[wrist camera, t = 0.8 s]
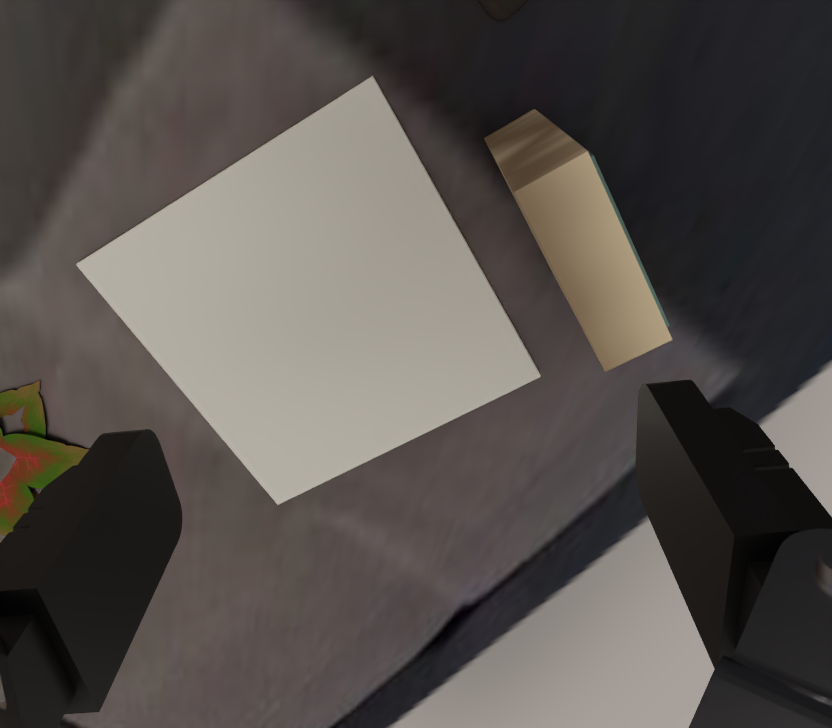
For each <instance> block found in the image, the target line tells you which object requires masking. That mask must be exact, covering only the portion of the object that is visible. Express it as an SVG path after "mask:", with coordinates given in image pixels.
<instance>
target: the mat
mask: <svg viewBox="0 0 832 728" xmlns="http://www.w3.org/2000/svg"><path fill="white" fill-rule="evenodd" d="M76 265H77V267H78V268H79V269H80V270H81V271H82V273H83V274H84V275H85V276H86V277H87V278H88V280H89V281H90V282H91V283H92V284H93V286H94V287H95V288H96V289H97V290H98V292H99V293H100V294H101V295H102V296H103V298H104V299H105V300H106V301H107V302H108V303H109V305H110V306H111V307H112V308H113V309H114V311H115V312H116V313H117V314H118V315H119V317H120V318H121V319H122V320H123V321H124V322H125V324H126V325H127V326H128V327H129V328H130V330H131V331H132V332H133V333H134V334H135V336H136V337H137V338H138V339H139V340H140V342H141V343H142V344H143V345H144V346H145V347H146V349H147V350H148V351H149V352H150V353H151V355H152V356H153V357H154V358H155V359H156V361H157V362H158V363H159V364H160V365H161V367H162V368H163V369H164V370H165V371H166V372H167V374H168V375H169V376H170V377H171V378H172V380H173V381H174V382H175V383H176V384H177V386H178V387H179V388H180V389H181V390H182V392H183V393H184V394H185V395H186V396H187V397H188V399H189V400H190V401H191V402H192V403H193V405H194V406H195V407H196V408H197V409H198V411H199V412H200V413H201V414H202V415H203V417H204V418H205V419H206V420H207V421H208V422H209V424H210V425H211V426H212V427H213V428H214V430H215V431H216V432H217V433H218V434H219V436H220V437H221V438H222V439H223V440H224V442H225V443H226V444H227V445H228V446H229V447H230V449H231V450H232V451H233V452H234V453H235V455H236V456H237V457H238V458H239V459H240V461H241V462H242V463H243V464H244V465H245V467H246V468H247V469H248V470H249V471H250V472H251V474H252V475H253V476H254V477H255V478H256V480H257V481H258V482H259V483H260V484H261V486H262V487H263V488H264V489H265V490H266V491H267V493H268V494H269V495H270V496H271V497H272V499H273V500H274V501H275V502H276V503H277V505H278V504H281V503H283V502H285V501H287V500H289V499H291V498H293V497H295V496H297V495H299V494H301V493H303V492H305V491H307V490H309V489H311V488H313V487H315V486H318V485H320V484H322V483H324V482H326V481H328V480H330V479H332V478H334V477H336V476H338V475H340V474H342V473H344V472H346V471H348V470H350V469H352V468H355V467H357V466H359V465H361V464H363V463H365V462H367V461H369V460H371V459H373V458H375V457H377V456H379V455H381V454H383V453H385V452H387V451H389V450H392V449H394V448H396V447H398V446H400V445H402V444H404V443H406V442H408V441H410V440H412V439H414V438H416V437H418V436H420V435H422V434H424V433H426V432H429V431H431V430H433V429H435V428H437V427H439V426H441V425H443V424H445V423H447V422H449V421H451V420H453V419H455V418H457V417H459V416H461V415H463V414H465V413H468V412H470V411H472V410H474V409H476V408H478V407H480V406H482V405H484V404H486V403H488V402H490V401H492V400H494V399H496V398H498V397H500V396H502V395H505V394H507V393H509V392H511V391H513V390H515V389H517V388H519V387H521V386H523V385H525V384H527V383H529V382H531V381H533V380H535V379H537V378H539V377H541V375H540V373H539V371H538V369H537V367H536V365H535V364H534V362H533V360H532V358H531V357H530V355H529V353H528V351H527V349H526V348H525V346H524V344H523V342H522V340H521V339H520V337H519V335H518V333H517V332H516V330H515V328H514V326H513V324H512V323H511V321H510V319H509V317H508V315H507V314H506V312H505V310H504V308H503V307H502V305H501V303H500V301H499V299H498V298H497V296H496V294H495V292H494V290H493V289H492V287H491V285H490V283H489V282H488V280H487V278H486V276H485V274H484V273H483V271H482V269H481V267H480V265H479V264H478V262H477V260H476V258H475V257H474V255H473V253H472V251H471V249H470V248H469V246H468V244H467V242H466V240H465V239H464V237H463V235H462V233H461V232H460V230H459V228H458V226H457V224H456V223H455V221H454V219H453V217H452V215H451V214H450V212H449V210H448V208H447V206H446V205H445V203H444V201H443V199H442V198H441V196H440V194H439V192H438V190H437V189H436V187H435V185H434V183H433V181H432V180H431V178H430V176H429V174H428V173H427V171H426V169H425V167H424V165H423V164H422V162H421V160H420V158H419V156H418V155H417V153H416V151H415V149H414V148H413V146H412V144H411V142H410V140H409V139H408V137H407V135H406V133H405V131H404V130H403V128H402V126H401V124H400V123H399V121H398V119H397V117H396V115H395V114H394V112H393V110H392V108H391V106H390V105H389V103H388V101H387V99H386V98H385V96H384V94H383V92H382V90H381V89H380V87H379V85H378V83H377V81H376V80H375V78H374V76H371V77H370V78H368V79H367V80H365V81H364V82H362V83H360V84H359V85H357V86H356V87H354V88H352V89H351V90H349V91H348V92H346V93H345V94H343V95H341V96H340V97H338V98H337V99H335V100H334V101H332V102H330V103H329V104H327V105H326V106H324V107H323V108H321V109H319V110H318V111H316V112H315V113H313V114H312V115H310V116H308V117H307V118H305V119H304V120H302V121H301V122H299V123H297V124H296V125H294V126H293V127H291V128H289V129H288V130H286V131H285V132H283V133H282V134H280V135H278V136H277V137H275V138H274V139H272V140H271V141H269V142H267V143H266V144H264V145H263V146H261V147H260V148H258V149H256V150H255V151H253V152H252V153H250V154H249V155H247V156H245V157H244V158H242V159H241V160H239V161H238V162H236V163H234V164H233V165H231V166H230V167H228V168H227V169H225V170H223V171H222V172H220V173H219V174H217V175H215V176H214V177H212V178H211V179H209V180H208V181H206V182H204V183H203V184H201V185H200V186H198V187H197V188H195V189H193V190H192V191H190V192H189V193H187V194H186V195H184V196H182V197H181V198H179V199H178V200H176V201H175V202H173V203H171V204H170V205H168V206H167V207H165V208H164V209H162V210H160V211H159V212H157V213H156V214H154V215H152V216H151V217H149V218H148V219H146V220H145V221H143V222H141V223H140V224H138V225H137V226H135V227H134V228H132V229H130V230H129V231H127V232H126V233H124V234H123V235H121V236H119V237H118V238H116V239H115V240H113V241H112V242H110V243H108V244H107V245H105V246H104V247H102V248H101V249H99V250H97V251H96V252H94V253H93V254H91V255H89V256H88V257H86V258H85V259H83V260H82V261H80V262H79V263H77V264H76Z"/></svg>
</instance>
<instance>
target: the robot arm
mask: <svg viewBox="0 0 832 728" xmlns="http://www.w3.org/2000/svg"><path fill="white" fill-rule="evenodd" d="M636 477H637V484H638V489H639V494H640V497H641V500H642V503H643V506H644V508H645V510H646V512H647V515H648V517H649V519H650V522H651V524H652V526H653V528H654V531H655V533H656V535H657V538H658V540H659V542H660V545H661V547H662V549H663V551H664V554H665V556H666V558H667V560H668V563H669V565H670V567H671V570H672V572H673V574H674V577H675V579H676V581H677V583H678V586H679V588H680V590H681V593H682V595H683V597H684V599H685V602H686V604H687V606H688V609H689V611H690V613H691V616H692V618H693V620H694V622H695V625H696V627H697V629H698V632H699V634H700V636H701V638H702V641H703V643H704V645H705V648H706V650H707V652H708V654H709V657H710V659H711V661H712V664H713V666H714V668H715V670H714V672H713V674H712V676H711V679H710V681H709V683H708V686H707V688H706V690H705V692H704V695H703V697H702V699H701V701H700V704H699V706H698V708H697V710H696V713H695V715H694V717H693V719H692V722H691V724H690V726H689V728H832V517H831V516H830V515H829V513H828V512H827V511H826V510H825V508H824V507H823V506H822V505H821V503H820V502H819V501H818V500H817V498H816V497H815V496H814V494H813V493H812V492H811V491H810V490H809V488H808V487H807V486H806V485H805V483H804V482H803V481H802V479H801V478H800V477H799V476H798V474H797V473H796V472H795V471H794V469H793V468H789V463H788V462H787V460H786V459H785V458H784V457H783V455H782V454H781V453H780V452H779V450H775V445H774V444H773V443H772V442H771V440H770V439H769V438H768V437H767V435H766V434H765V433H764V432H763V430H762V429H761V428H760V426H759V425H758V424H756V423H755V422H753V421H751V420H750V419H748V418H746V417H745V416H743V415H741V414H740V413H738V412H736V411H735V410H733V409H731V408H730V407H729V408H718V409H713V408H712V407H711V406H710V404H709V403H708V401H707V400H706V399H705V397H704V396H703V394H702V393H701V392H700V390H699V389H698V387H697V386H696V385H695V383H694V382H693V381H691V380H682V381H671V382H661V383H650V384H643V385H641V387H640V390H639V396H638V418H637V443H636ZM181 529H182V509H181V504H180V500H179V497H178V495H177V492H176V489H175V486H174V483H173V480H172V477H171V474H170V471H169V469H168V466H167V463H166V460H165V457H164V454H163V451H162V448H161V445H160V443H159V440H158V438H157V436H156V435H155V433H154V432H153V431H151V430H149V429H144V430H133V431H122V432H112V433H104V434H102V435H100V436H99V437H98V438H97V440H96V441H95V442H94V444H93V445H92V446H91V448H90V449H89V450H88V452H87V453H86V454H85V456H84V457H83V458H82V460H81V461H80V462H79V464H78V465H73V466H72V467H70V468H69V469H68V470H66V471H65V472H64V473H62V474H61V475H60V476H58V477H57V478H56V479H54V480H53V481H52V482H50V483H49V484H48V485H46V486H45V487H44V489H43V490H42V491H41V492H40V494H39V495H38V496H37V497H36V499H35V500H34V501H33V502H32V504H31V505H30V506H29V508H28V513H24V514H23V515H22V516H21V518H20V519H19V520H18V521H17V523H16V524H15V525H14V526H13V532H9V533H8V534H7V535H6V537H5V538H4V539H3V540H2V542H1V543H0V728H57V727H58V725H59V723H60V722H61V720H62V718H63V716H64V714H74V713H89V712H99V711H100V709H101V707H102V705H103V703H104V700H105V698H106V696H107V694H108V692H109V690H110V687H111V685H112V683H113V681H114V679H115V677H116V674H117V672H118V670H119V668H120V666H121V664H122V661H123V659H124V657H125V655H126V653H127V651H128V648H129V646H130V644H131V642H132V640H133V638H134V636H135V633H136V631H137V629H138V627H139V625H140V623H141V620H142V618H143V616H144V614H145V612H146V610H147V607H148V605H149V603H150V601H151V599H152V597H153V594H154V592H155V590H156V588H157V586H158V584H159V581H160V579H161V577H162V575H163V573H164V571H165V568H166V566H167V564H168V562H169V560H170V558H171V555H172V553H173V551H174V549H175V547H176V545H177V543H178V540H179V538H180V534H181Z"/></svg>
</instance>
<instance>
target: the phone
mask: <svg viewBox="0 0 832 728" xmlns="http://www.w3.org/2000/svg"><path fill="white" fill-rule="evenodd" d="M478 1H479V2H480V4H481V5H482V6H483V8H484V9H485V10H486V12H487V13H488V14H489V16H490V17H492V18H493V19H495V20H505V19H507V18H509V17H510V16H511V15H512V14H513V13H514V12H515V11H517V10H518V9H519V8H520V7H521V6H522V5H523V4H524V3H525V2H526V1H527V0H478Z"/></svg>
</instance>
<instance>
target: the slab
mask: <svg viewBox="0 0 832 728" xmlns="http://www.w3.org/2000/svg"><path fill="white" fill-rule="evenodd" d="M484 140H485V142H486V144H487V145H488V147H489V149H490V151H491V153H492V155H493V157H494V159H495V161H496V163H497V165H498V167H499V169H500V171H501V173H502V175H503V177H504V179H505V181H506V183H507V185H508V187H509V189H510V190H511V192H512V194H513V196H514V198H515V200H516V202H517V204H518V206H519V208H520V210H521V212H522V214H523V216H524V218H525V220H526V222H527V224H528V226H529V228H530V230H531V232H532V233H533V235H534V237H535V239H536V241H537V243H538V245H539V247H540V249H541V251H542V253H543V255H544V257H545V259H546V261H547V263H548V265H549V267H550V269H551V271H552V273H553V274H554V276H555V278H556V280H557V282H558V284H559V286H560V288H561V290H562V291H563V293H564V295H565V297H566V299H567V301H568V303H569V305H570V306H571V308H572V310H573V312H574V314H575V316H576V318H577V320H578V322H579V323H580V325H581V327H582V329H583V331H584V333H585V335H586V337H587V339H588V340H589V342H590V344H591V346H592V348H593V350H594V352H595V354H596V355H597V357H598V359H599V361H600V363H601V365H602V367H603V369H604V371H605V372H606V371H608V370H610V369H612V368H614V367H617V366H619V365H621V364H623V363H625V362H627V361H629V360H631V359H633V358H635V357H638V356H640V355H642V354H644V353H646V352H648V351H650V350H652V349H654V348H656V347H658V346H661V345H663V344H665V343H667V342H669V341H671V340H672V338H671V335H670V333H669V331H668V329H667V327H668V326H669V323H668V321H667V319H666V317H665V314H664V312H663V310H662V308H661V305H660V303H659V301H658V299H657V296H656V294H655V292H654V290H653V287H652V285H651V283H650V281H649V278H648V276H647V274H646V272H645V269H644V267H643V265H642V263H641V261H640V258H639V256H638V254H637V252H636V249H635V247H634V245H633V243H632V240H631V238H630V236H629V234H628V231H627V229H626V227H625V225H624V222H623V220H622V218H621V216H620V213H619V211H618V209H617V207H616V204H615V202H614V200H613V198H612V196H611V193H610V191H609V189H608V187H607V184H606V182H605V180H604V178H603V175H602V173H601V171H600V169H599V166H598V164H597V162H596V160H595V157H594V155H593V154H591V153H590V152H589V151H588V150H586V149H585V148H584V147H583V146H581V145H580V144H579V143H578V142H576V141H575V140H574V139H573V138H571V137H570V136H569V135H567V134H566V133H565V132H564V131H562V130H561V129H560V128H559V127H557V126H556V125H555V124H554V123H552V122H551V121H550V120H549V119H547V118H546V117H545V116H544V115H542V114H541V113H539V112H538V111H537V110H536V109H533V110H531V111H530V112H528V113H526V114H525V115H523V116H521V117H519V118H518V119H516V120H514V121H513V122H511V123H509V124H507V125H506V126H504V127H502V128H501V129H499V130H497V131H495V132H494V133H492V134H490V135H489V136H487V137H485V138H484Z"/></svg>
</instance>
